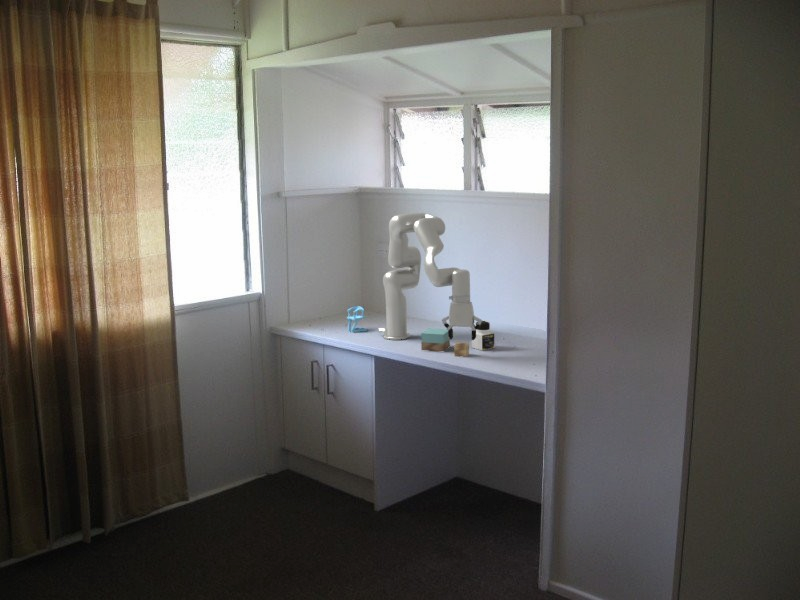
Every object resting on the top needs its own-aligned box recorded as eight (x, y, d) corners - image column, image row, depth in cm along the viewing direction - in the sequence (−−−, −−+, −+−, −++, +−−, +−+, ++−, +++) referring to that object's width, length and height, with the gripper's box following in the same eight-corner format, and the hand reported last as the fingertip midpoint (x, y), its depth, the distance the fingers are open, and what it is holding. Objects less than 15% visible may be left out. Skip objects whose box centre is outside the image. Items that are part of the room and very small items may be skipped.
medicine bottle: (482, 350, 361) (482, 323, 359) (471, 348, 367) (471, 321, 365) (494, 348, 366) (494, 321, 363) (483, 345, 371) (483, 319, 369)
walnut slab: (421, 351, 365) (421, 342, 364) (428, 345, 374) (428, 337, 374) (443, 352, 362) (443, 343, 361) (449, 347, 371) (449, 338, 371)
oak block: (454, 356, 354) (454, 344, 353) (457, 353, 358) (457, 342, 357) (466, 357, 352) (465, 345, 351) (468, 354, 357) (468, 342, 356)
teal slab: (421, 342, 364) (421, 333, 364) (429, 337, 374) (429, 328, 373) (443, 343, 361) (443, 334, 360) (450, 338, 370) (450, 329, 369)
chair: (344, 331, 408) (343, 307, 406) (358, 328, 413) (357, 304, 411) (353, 333, 402) (352, 309, 400) (368, 330, 407) (367, 306, 405)
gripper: (438, 300, 350) (440, 340, 353) (479, 301, 345) (480, 341, 347) (443, 297, 357) (445, 336, 360) (483, 298, 352) (484, 337, 354)
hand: (462, 339), depth 354 cm, fingers open, 9 cm apart
